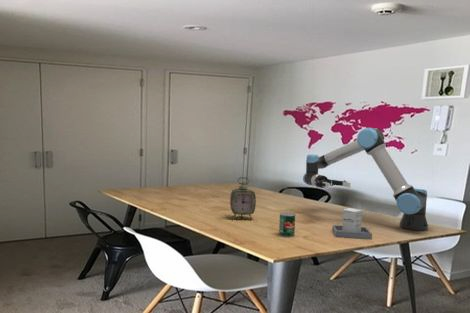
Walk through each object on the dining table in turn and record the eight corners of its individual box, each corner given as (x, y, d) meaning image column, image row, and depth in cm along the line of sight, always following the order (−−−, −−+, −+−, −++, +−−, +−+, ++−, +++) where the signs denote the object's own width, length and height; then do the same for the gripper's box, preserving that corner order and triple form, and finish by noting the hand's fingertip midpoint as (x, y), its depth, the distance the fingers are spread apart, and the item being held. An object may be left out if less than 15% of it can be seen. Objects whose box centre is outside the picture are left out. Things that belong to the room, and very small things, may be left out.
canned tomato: (284, 232, 215) (285, 211, 215) (297, 235, 210) (298, 214, 210) (275, 235, 209) (276, 213, 209) (289, 238, 204) (290, 216, 204)
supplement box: (341, 232, 216) (342, 209, 215) (348, 230, 221) (350, 207, 221) (354, 235, 211) (355, 211, 210) (361, 233, 216) (362, 210, 215)
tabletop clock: (230, 220, 239) (232, 177, 238) (229, 217, 248) (230, 176, 247) (254, 220, 241) (256, 178, 239) (252, 217, 250) (254, 176, 248)
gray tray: (365, 232, 222) (366, 227, 222) (371, 239, 208) (372, 233, 208) (332, 230, 224) (332, 225, 224) (335, 237, 210) (335, 231, 210)
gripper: (337, 186, 255) (358, 191, 235) (301, 187, 247) (320, 192, 227) (337, 174, 255) (358, 178, 235) (301, 175, 246) (320, 179, 226)
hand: (339, 185), depth 231 cm, fingers open, 13 cm apart
